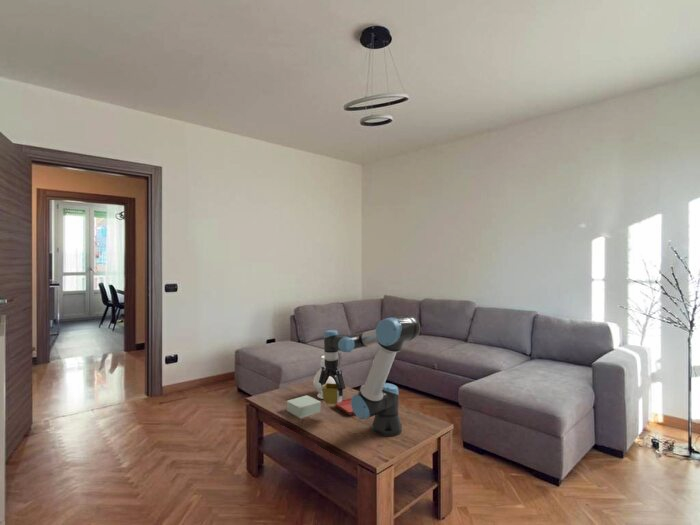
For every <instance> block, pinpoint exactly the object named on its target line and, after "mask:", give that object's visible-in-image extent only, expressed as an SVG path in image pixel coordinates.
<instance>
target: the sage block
mask: <svg viewBox="0 0 700 525" xmlns="http://www.w3.org/2000/svg"><path fill="white" fill-rule="evenodd" d="M286 411H287V412H289V413H290V414H291V415H294V416H295V417H297V418H299V419H303V418H306V417H309V416H312V415H316V414H318V413H321V412H322V402H321V400H318V399H316V398H314V397H312V396H310V395H307V394H306V395H303V396H300V397H296V398H292V399H289V400H287V401H286Z"/></svg>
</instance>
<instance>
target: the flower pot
mask: <svg viewBox="0 0 700 525" xmlns="http://www.w3.org/2000/svg"><path fill="white" fill-rule="evenodd" d="M337 390H338V387H337V385H336V384H330V383H326V384H325V386H324V387H323V388H322V392H323V398H324V399H323V400H324V402H325V404H327V405H328V404H329V405H335V404H336V402H337Z"/></svg>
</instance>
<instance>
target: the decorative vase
mask: <svg viewBox="0 0 700 525" xmlns="http://www.w3.org/2000/svg"><path fill="white" fill-rule="evenodd" d="M320 356H321V355H320ZM324 360H325V358H324V355H322V356H321V360H320V361H319V365H320V368H319V370H318V371H317V372H316V373H315V375H314V377H313V381H312V383H313V387H314V388H315V390H317V392H318V393H317V396H316V397H317V398H319V399H320V400H321V399H322V400H324V398H323V397H322V385H321V383H319V378H320V375H321V371H322V367H323V366H325V362H324ZM326 383H330V384H336V383H335V381H334V379H333V378H332V377H331V376H329V378H328V380H327V381H326Z"/></svg>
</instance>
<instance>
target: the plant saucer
mask: <svg viewBox="0 0 700 525" xmlns="http://www.w3.org/2000/svg"><path fill="white" fill-rule="evenodd" d="M351 399H352V397H350V398H345V399H342V402H339V403H338V402H336V404H334V405H335V406H336V407H337V408H338V409H339V410H341V411H343V412H344V413H346V415H347V414H348V415H349V416H356V415H355V413H354V412H353V409H352V406H351Z"/></svg>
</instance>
